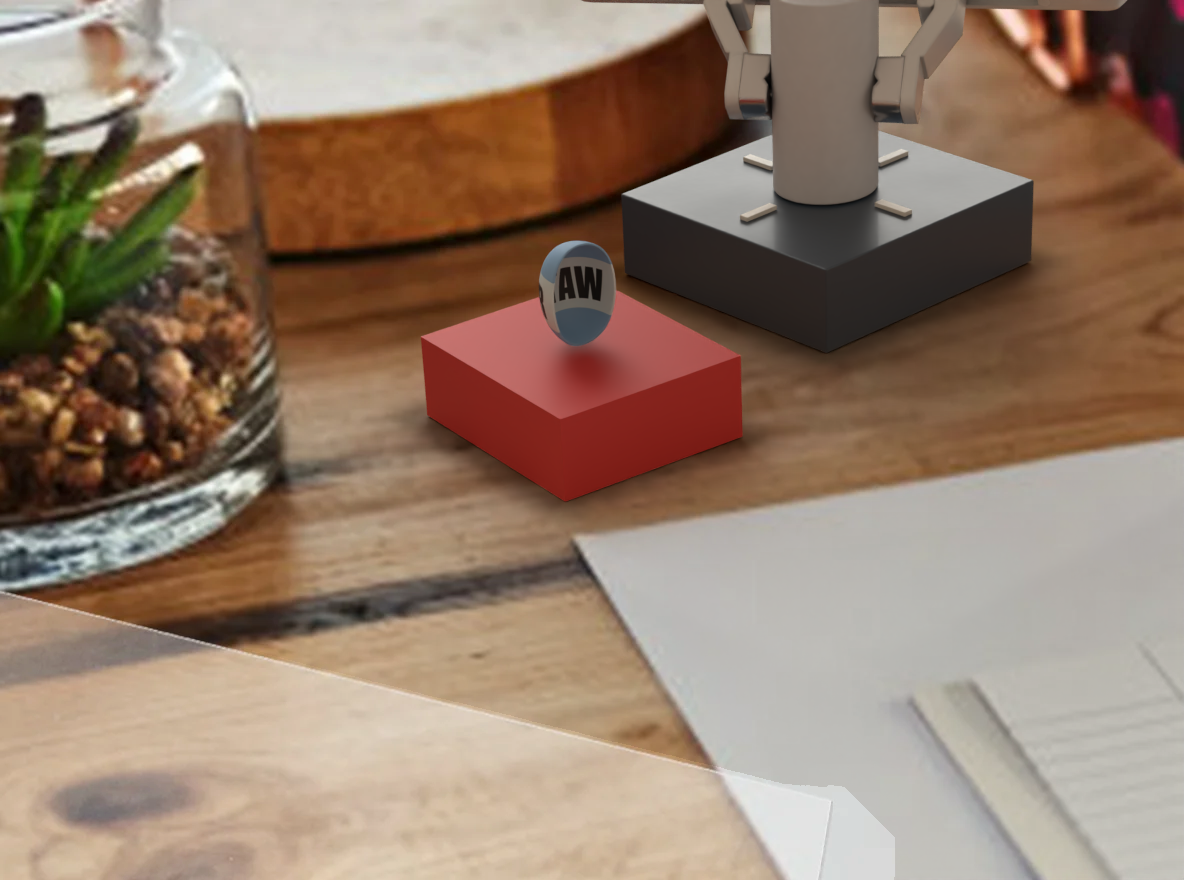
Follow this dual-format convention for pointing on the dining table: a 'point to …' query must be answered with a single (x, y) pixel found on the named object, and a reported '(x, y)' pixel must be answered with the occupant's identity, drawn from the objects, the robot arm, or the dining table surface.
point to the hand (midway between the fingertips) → (821, 115)
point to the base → (828, 240)
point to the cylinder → (824, 99)
